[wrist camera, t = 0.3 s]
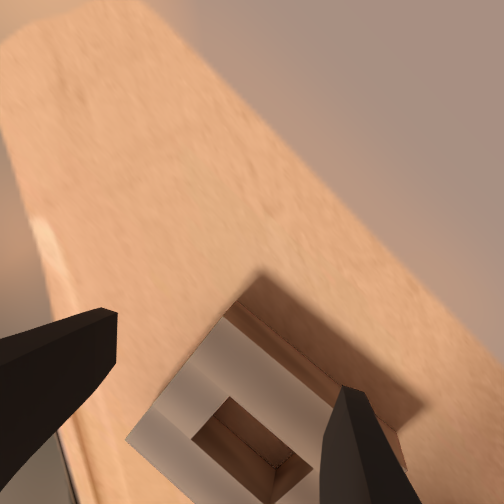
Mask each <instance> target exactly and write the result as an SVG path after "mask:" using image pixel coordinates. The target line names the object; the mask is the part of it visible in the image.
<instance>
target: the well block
mask: <svg viewBox="0 0 504 504" xmlns="http://www.w3.org/2000/svg"><path fill="white" fill-rule="evenodd" d="M340 390H341V386H339V385H338V384H337V383H336V382H335V381H333V380H332V379H331V378H330V377H329V376H327V375H326V374H325V373H324V372H322V371H321V370H320V369H319V368H318V367H316V366H315V365H314V364H313V363H312V362H310V361H309V360H308V359H307V358H306V357H304V356H303V355H302V354H301V353H299V352H298V351H297V350H296V349H295V348H293V347H292V346H291V345H290V344H289V343H287V342H286V341H285V340H284V339H283V338H281V337H280V336H279V335H278V334H276V333H275V332H274V331H273V330H272V329H270V328H269V327H268V326H267V325H266V324H264V323H263V322H262V321H261V320H260V319H258V318H257V317H256V316H255V315H254V314H252V313H251V312H250V311H249V310H247V309H246V308H245V307H244V306H243V305H241V304H240V303H239V302H238V301H237V300H236V302H235V303H234V304H233V305H232V306H231V307H230V308H229V310H228V311H227V312H226V313H225V314H224V315H223V316H222V318H221V319H220V320H219V321H218V323H217V324H216V325H215V326H214V328H213V329H212V330H211V331H210V333H209V334H208V335H207V336H206V338H205V339H204V340H203V342H202V343H201V344H200V345H199V347H198V348H197V349H196V350H195V352H194V353H193V354H192V355H191V357H190V358H189V359H188V360H187V362H186V363H185V364H184V365H183V367H182V368H181V369H180V370H179V372H178V373H177V374H176V375H175V377H174V378H173V379H172V380H171V382H170V383H169V384H168V386H167V387H166V388H165V389H164V391H163V392H162V393H161V394H160V396H159V397H158V398H157V399H156V401H155V402H154V403H153V404H152V406H151V407H150V408H149V409H148V411H147V412H146V413H145V414H144V416H143V417H142V418H141V419H140V421H139V422H138V423H137V424H136V426H135V427H134V428H133V430H132V431H131V432H130V433H129V435H128V436H127V437H126V438H125V441H126V442H127V443H128V444H130V445H131V446H132V447H133V448H134V449H135V450H136V451H137V452H138V453H140V454H141V455H142V456H143V457H144V458H145V459H146V460H147V461H148V462H149V463H151V464H152V465H153V466H154V467H155V468H156V469H157V470H158V471H159V472H160V473H162V474H163V475H164V476H165V477H166V478H167V479H168V480H169V481H170V482H172V483H173V484H174V485H175V486H176V487H177V488H178V489H179V490H180V491H181V492H183V493H184V494H185V495H186V496H187V497H188V498H189V499H190V500H191V501H192V502H194V503H195V504H320V502H319V474H320V462H321V451H322V441H323V435H324V432H325V430H326V427H327V424H328V422H329V419H330V416H331V414H332V411H333V408H334V406H335V403H336V400H337V398H338V395H339V392H340ZM229 396H230V397H231V398H232V399H234V400H235V401H236V402H237V403H238V404H239V405H241V406H242V407H243V408H244V409H245V410H246V411H247V412H249V413H250V414H251V415H252V416H253V417H254V418H256V419H257V420H258V421H259V422H260V423H261V424H263V425H264V426H265V427H266V428H267V429H268V430H270V431H271V432H272V433H273V434H274V435H275V436H277V437H278V438H279V439H280V440H281V441H282V442H284V443H285V444H286V445H287V446H288V447H289V448H290V449H292V450H293V451H294V452H295V453H294V454H293V455H292V456H291V457H290V458H289V459H288V460H286V461H285V462H284V463H283V464H282V465H281V466H280V467H279V468H278V469H277V470H275V469H274V468H273V467H272V466H270V465H269V464H268V463H267V462H266V461H265V460H264V459H262V458H261V457H260V456H259V455H258V454H257V453H255V452H254V451H253V450H252V449H251V448H250V447H249V446H247V445H246V444H245V443H244V442H243V441H242V440H241V439H239V438H238V437H237V436H236V435H235V434H234V433H233V432H231V431H230V430H229V429H228V428H227V427H226V426H224V425H223V424H222V423H221V422H220V421H219V420H218V419H216V418H215V417H214V416H213V414H214V413H215V412H216V411H217V410H218V408H219V407H220V406H221V405H222V404H223V403H224V402H225V401H226V399H227V398H228V397H229ZM376 417H377V416H376ZM377 419H378V422H379V424H380V426H381V428H382V430H383V432H384V434H385V436H386V438H387V440H388V442H389V444H390V446H391V448H392V450H393V452H394V453H395V455H396V457H397V459H398V461H399V463H400V465H401V467H402V468H403V470H404V472H405V473H406V472H407V471H408V470H407V467H406V463H405V460H404V456H403V453H402V450H401V446H400V443H399V440H398V436H397V433H396V432H395V431H394V430H393V429H391V428H390V427H389V426H388V425H387V424H385V423H384V422H383V421H382V420H381V419H379V418H378V417H377Z"/></svg>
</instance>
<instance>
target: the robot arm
mask: <svg viewBox="0 0 504 504" xmlns="http://www.w3.org/2000/svg"><path fill="white" fill-rule="evenodd" d="M117 317H118V313H117V312H114V311H111V310H108V309H105V308H102V307H101V308H97V309H93V310H90V311H86V312H83V313H80V314H77V315H74V316H71V317H68V318H65V319H62V320H59V321H55V322H52V323H49V324H46V325H43V326H40V327H37V328H34V329H31V330H28V331H25V332H22V333H18V334H15V335H12V336H9V337H5V338H2V339H0V492H1V490H2V489H3V488H4V487H5V486H6V484H7V483H8V482H9V481H10V480H11V478H12V477H13V476H14V475H15V474H16V472H17V471H18V470H19V469H20V468H21V467H22V466H23V465H24V464H25V463H26V462H27V460H28V459H29V458H30V457H31V456H32V455H33V454H34V453H35V452H36V451H37V450H38V449H39V448H40V447H41V446H42V445H43V444H44V443H45V442H46V441H47V440H48V439H49V438H50V437H51V436H52V435H53V434H54V433H55V432H56V431H57V430H58V429H59V428H60V427H61V426H62V425H63V424H64V422H65V421H66V420H67V419H68V418H69V417H70V416H71V415H72V414H73V413H74V412H75V411H76V410H77V409H78V408H79V407H80V406H81V405H82V404H83V403H84V402H85V401H86V400H87V399H88V398H89V397H90V396H91V395H92V393H93V392H94V391H95V390H96V389H97V388H98V386H99V385H100V384H101V383H102V381H103V380H104V379H105V377H106V376H107V375H108V373H109V372H110V371H111V369H112V368H113V367H114V365H115V364H116V350H117ZM319 502H320V504H422V503H421V501H420V499H419V498H418V496H417V494H416V492H415V490H414V489H413V487H412V485H411V483H410V482H409V480H408V478H407V476H406V474H405V472H404V470H403V468H402V467H401V465H400V463H399V461H398V459H397V457H396V455H395V453H394V452H393V450H392V448H391V446H390V444H389V442H388V440H387V438H386V436H385V434H384V432H383V430H382V428H381V426H380V424H379V422H378V419H377V417H376V415H375V413H374V411H373V409H372V407H371V405H370V403H369V401H368V399H367V397H366V395H365V393H364V392H362V391H359V390H356V389H352V388H349V387H346V386H343V385H342V387H341V390H340V392H339V395H338V398H337V400H336V403H335V406H334V408H333V411H332V414H331V416H330V419H329V422H328V424H327V427H326V430H325V432H324V435H323V441H322V451H321V462H320V474H319Z"/></svg>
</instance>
